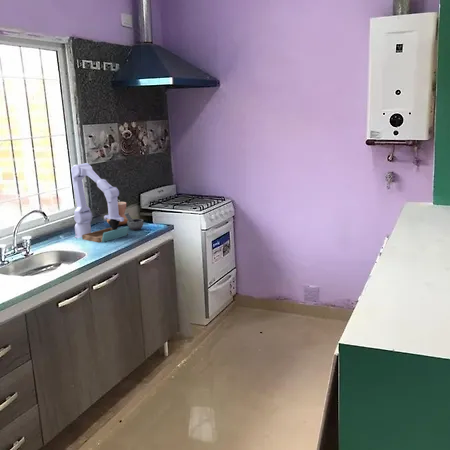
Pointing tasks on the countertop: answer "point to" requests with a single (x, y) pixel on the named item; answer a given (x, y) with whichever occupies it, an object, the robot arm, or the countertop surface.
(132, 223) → the mortar and pestle
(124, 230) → the panel
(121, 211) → the ceramic jug
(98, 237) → the tray
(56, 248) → the countertop surface
